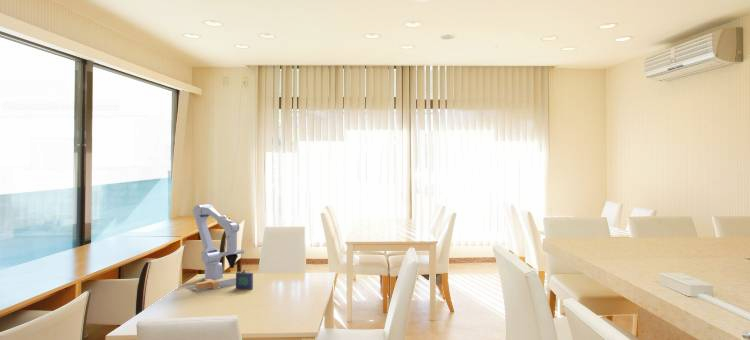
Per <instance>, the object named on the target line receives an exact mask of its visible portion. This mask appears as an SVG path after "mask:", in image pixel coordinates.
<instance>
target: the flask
mask: <svg viewBox="0 0 750 340" xmlns="http://www.w3.org/2000/svg"><path fill="white" fill-rule="evenodd" d="M235 278H236V285H235V290H250V291H251V290H253V289H254V273H253V271H251V272H247V269H246V268H245V269H242V271H236V273H235Z"/></svg>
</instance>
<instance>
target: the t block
mask: <svg viewBox="0 0 750 340" xmlns="http://www.w3.org/2000/svg"><path fill="white" fill-rule="evenodd" d="M194 286H195V289H197V290H200V289H205V288H213V289H215V288H219V282H218V280H215V279H214V280H212V279H206V280H205V279H204V281H200V282H196V283H195V285H194ZM215 290H216V289H215Z"/></svg>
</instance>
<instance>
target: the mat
mask: <svg viewBox="0 0 750 340" xmlns="http://www.w3.org/2000/svg"><path fill="white" fill-rule="evenodd" d="M217 282H219V288H215V289H213V288H205V289H200V290H197V289H195V285H194V286H192V285H191V286H188V287H185V289H186V290H188V291H191V292H194V293H195V294H200V293H206V292H210V291H215V290H220V289H225V288H229V287H234V286H235V287H236V277H234V278H228V279H224V280H219V281H218V280H217Z"/></svg>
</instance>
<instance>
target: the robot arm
mask: <svg viewBox="0 0 750 340" xmlns="http://www.w3.org/2000/svg"><path fill="white" fill-rule="evenodd" d="M192 212H193V216H194V219H195V223H196V227H197V230H198V233H199V237H200V240H201V243H202V246H203V249H202V251H201V261H202V263H203V265H204V277H203V276H202V280H203V279H204V281H205V280H206V279H212V280H214V281H215V280H219V279H223V278H224V277H223V276H224V275H223V274H224V272H223V271H224V269H223V263H222V262H220V261H221V260H222V257H225V258H226V260H227V262H228V266H229V268H230V269H234V268H235V263H236V261H237V259H238V257H239V256H238V255H241V254H245V249H238V232H239V231H240V225H239V223H238V222H236V221H232V219H229V218H228V217H227V215H222V214H221V213H219V212H218V211H217V210H216V209H215V206H213V205H212V204H211V203H205V204H196V205H195V206H194V207H193V209H192ZM210 217H212V218H213V219H214V220H216V222H217V224H218V225H219V226H220V227H221V228H223V229H224V230H223V231H224V233H225V237H226V240H225V241H226V244H225V245H226V251H222V252H220V250H219V248H218V247H217V246H214V243H213V239H212V237H211V233H210V230H209V227H208V224H207V220H208V219H210Z"/></svg>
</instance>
